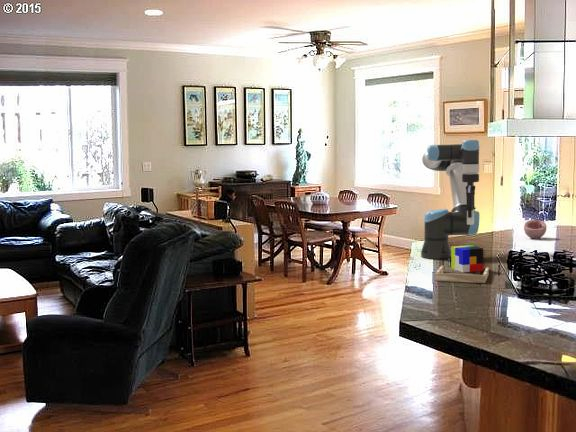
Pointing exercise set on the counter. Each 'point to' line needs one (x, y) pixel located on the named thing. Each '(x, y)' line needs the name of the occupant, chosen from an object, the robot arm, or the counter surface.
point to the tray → (461, 276)
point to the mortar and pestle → (535, 228)
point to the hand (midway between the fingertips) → (470, 223)
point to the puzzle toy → (467, 258)
